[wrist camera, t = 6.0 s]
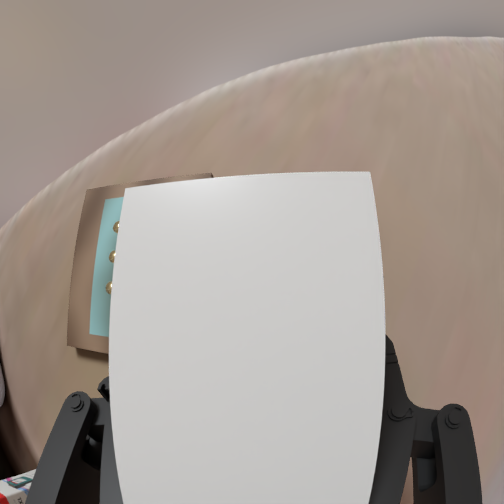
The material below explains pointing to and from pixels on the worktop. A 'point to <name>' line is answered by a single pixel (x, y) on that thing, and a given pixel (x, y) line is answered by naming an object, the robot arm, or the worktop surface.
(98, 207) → the dock board
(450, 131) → the worktop surface
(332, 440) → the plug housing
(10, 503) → the ink box
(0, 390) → the plastic bottle
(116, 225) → the header pins
